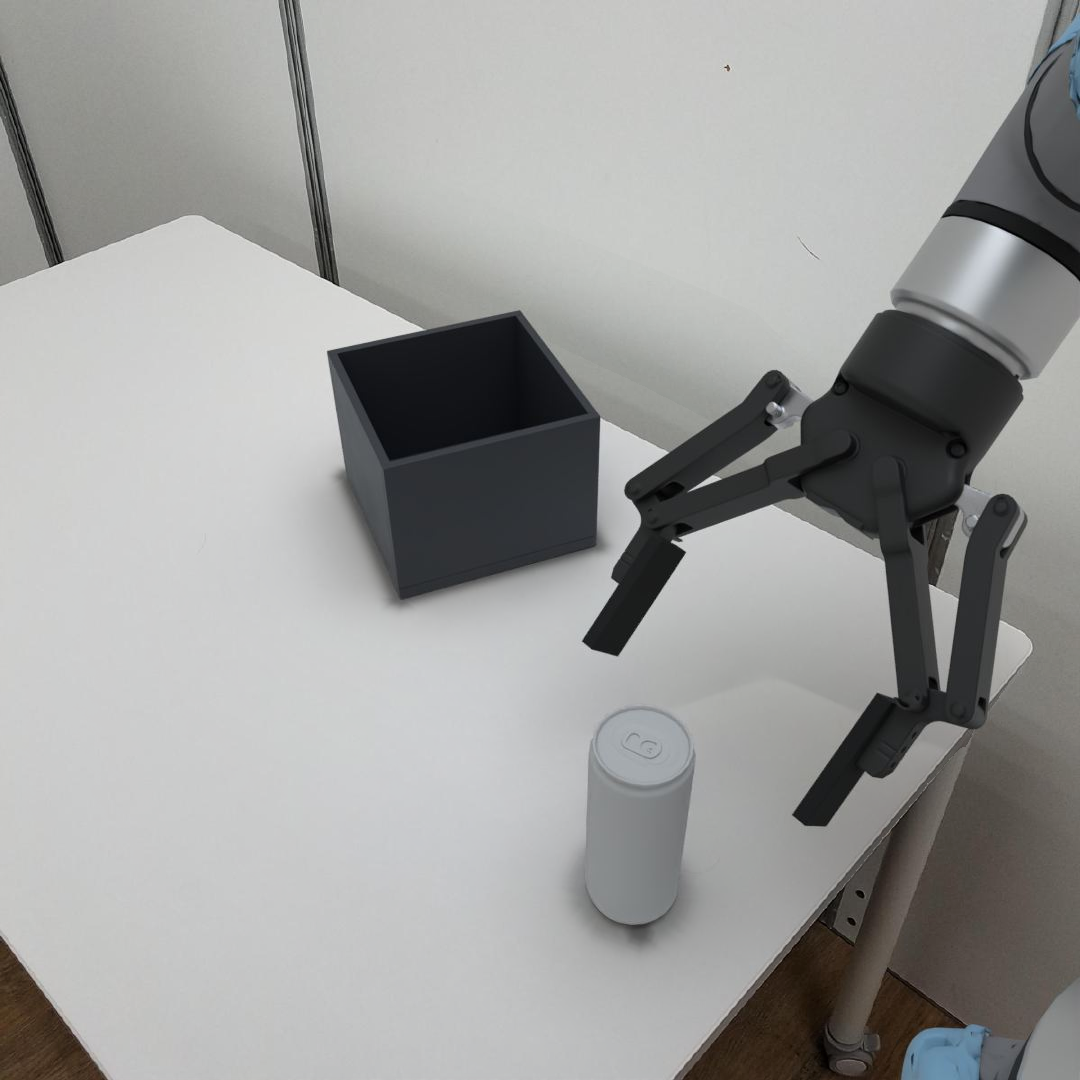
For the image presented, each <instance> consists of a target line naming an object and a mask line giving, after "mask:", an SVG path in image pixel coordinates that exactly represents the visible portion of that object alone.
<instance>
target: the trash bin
mask: <svg viewBox="0 0 1080 1080" xmlns="http://www.w3.org/2000/svg"><path fill="white" fill-rule="evenodd" d="M529 321H530V320H528V319H527V318H526V316H525V315H524V313H523V312H522V310H520V309H518V310H514V311H509V312H504V313H499V314H494V315H490V316H485V317H480V318H476V319H471V320H465V321H462V322H457V323H452V324H448V325H447V324H446V325H443V326H438V327H432V328H429V329H423V330H419V331H414V332H410V333H405V334H399V335H395V336H391V337H385V338H381V339H376V340H371V341H367V342H362V343H356V344H352V345H348V346H343V347H338V348H334V349H329V350H327V351H326V355H327V362H328V368H329V369H328V370H329V374H330V381H331V386H332V393H333V398H334V399H333V400H334V407H335V412H336V419H337V424H338V430H339V437H340V444H341V449H342V450H341V451H342V456H343V464H344V468H345V476H346V478H347V480H348V483H349V485H350V488H351V489H352V492H353V495H354V496H355V499H356V502H357V504H358V506H359V508H360V511H361V513H362V515H363V518H364V520H365V522H366V524H367V527H368V529H369V532H370V533H371V536H372V538H373V541H374V543H375V545H376V547H377V549H378V552H379V554H380V557H381V559H382V561H383V563H384V567H385V568H386V571H387V573H388V576H389V577H390V580H391V582H392V583H393V584H392V585H393V586H394V589H395V591H396V594H397V596H398V598H399V600H405V599H408V598H411V597H415V596H419V595H422V594H427V593H430V592H433V591H437V590H440V589H443V588H447V587H451V586H452V587H453V586H455V585H458V584H462V583H466V582H469V581H473V580H476V579H480V578H483V577H488V576H491V575H495V574H498V573H502V572H505V571H506V572H507V571H509V570H512V569H516V568H519V567H524V566H527V565H530V564H534V563H537V562H541V561H545V560H548V559H552V558H556V557H558V556H563V555H567V554H570V553H573V552H574V553H575V552H577V551H581V550H584V549H588V548H592V547H595V546H597V534H598V507H599V506H598V505H599V503H598V502H599V501H598V500H599V476H600V475H599V473H600V446H601V445H600V444H601V443H600V441H601V415H600V413H599V412H598V411H597V410H596V409H595V407H594V406H593V404H592V403H591V402H590V401H589V400H588V398H587V397H586V395H585V394H584V392H583V391H582V389H581V388H579V386H578V384H577V383H576V382H575V380H574V379H573V378H572V377H571V375H570V374H569V372H568V371H567V369H565V367H564V366H563V364H562V363H561V362H560V361H559V360H558V358H557V357H556V356H555V354H554V353H553V352H552V350H551V349H550V348H549V347H548V345H547V344H546V342H545V341H544V340H543V338H542V337H541V336H540V335H539V333H538V332H537V331H536V329H535V328H534V326H533V325H532V324H531V323H530V322H529Z"/></svg>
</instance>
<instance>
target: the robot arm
mask: <svg viewBox="0 0 1080 1080" xmlns="http://www.w3.org/2000/svg"><path fill="white" fill-rule="evenodd" d="M889 295H890V302H891V305H892V306H893V307H894V308H895V309H885V310H883V311H882V312H877V313H875V315H874V316H873V318H872V320H871V321H870V322H869V324H868V326H867V327H866V329H865V330H864V332H863V333H862V334H861V336H860V338H859V339H858V341H857V342H856V344H855V345H854V346H853V348H852V350H851V351H850V353H849V354H848V356H847V358H846V359H845V361H844V362H843V363H842V365H841V366H840V369H839V370H838V373H837V375H836V377H835V379H834V381H833V384H832V385H831V387H830V388H829V389H828V391H827V392H825V393H824V394H823V395H822V396H820V397H819V398H817V399H816V400H813V399H812V398H811V397H809V396H808V395H807V394H806V393H804V392H802V390H801V389H800V388H799V386H797V385H796V384H795V383H794V382H792V381H791V380H790V379H789V378H788V376H786V375H785V374H784V373H783V372H782V371H780V370H778V369H771V370H769V371H766V372H765V374H764V375H763V376H762V377H761V378H760V379H759V380H758V382H757V383H756V385H755V386H754V387H753V388H752V390H751V391H749V393H748V395H746V397H745V398H744V399H743V400H742V402H741V403H739V404H738V405H737V406H735V407H733V408H732V409H731V410H729V411H727V412H726V413H725V414H723V415H722V416H721V417H719V418H717V419H716V420H714V421H713V422H712V423H710V424H709V425H707V426H706V427H704V428H703V429H702V430H700V431H699V432H697V433H696V434H694V435H693V436H691V437H690V438H689V439H687V440H685V441H684V442H682V443H681V444H680V445H678V446H676V447H675V448H674V449H672V450H670V451H669V452H668V453H666V454H665V455H663V456H662V457H661V458H659V459H657V460H656V461H655V462H653V463H652V464H650V465H649V466H648V467H646V468H645V469H643V470H642V471H640V472H639V473H637V474H636V475H634V476H632V477H631V478H630V479H628V481H626V483H625V485H624V489H623V492H624V496H625V497H626V499H628V500H630V501H631V502H632V504H633V506H634V507H635V508H636V510H637V511H638V514H639V515H640V524H639V527H638V529H637V530H636V532H635V533H634V535H633V537H632V538H631V540H630V541H629V543H628V545H627V546H626V547H625V549H624V551H623V552H622V554H621V555H620V558H618V560H617V562H616V563H615V565H614V566H613V568H612V572H611V575H610V579H611V580H613V581H614V582H615V583H617V586H616V588H615V589H614V591H613V592H612V594H611V595H610V596H609V599H608V600H607V601H606V602H605V604H604V606H603V608H602V609H601V611H600V612H599V613H598V615H597V617H596V619H594V621H593V623H592V624H591V626H590V627H589V629H588V631H587V632H586V633H585V635H584V637H583V638H582V639H581V642H582V643H583V644H584V645H585V646H587V647H588V648H590V649H591V650H592V651H595V652H598V653H603V654H606V655H611V656H614V657H619V656H620V655H621V653H622V652H623V650H624V649H625V647H626V646H627V644H628V642H629V641H630V639H631V638H632V636H633V635H634V633H635V631H636V630H637V628H638V627H639V625H640V624H641V623H642V621H643V619H644V618H645V617H646V615H647V613H648V612H649V610H650V609H651V607H652V606H653V604H654V602H655V601H656V600H657V598H658V596H659V595H660V593H661V592H662V591H663V589H664V588H665V586H666V584H667V583H668V581H669V580H670V578H671V577H672V576H673V574H674V572H675V571H676V569H677V567H678V566H679V565H680V563H681V561H682V560H683V559H684V557H685V555H686V554H687V551H686V550H684V549H683V548H682V547H680V546H679V545H677V544H675V543H673V542H672V541H674V542H676V543H682V542H684V540H683V539H682V537H685V536H688V535H690V534H693V533H696V532H698V531H702V530H705V529H708V528H710V527H713V526H716V525H718V524H721V523H724V522H727V521H730V520H733V519H735V518H739V517H741V516H744V515H747V514H749V513H753V512H755V511H758V510H760V509H763V508H766V507H770V506H772V505H775V504H777V503H779V502H780V503H781V502H783V501H786V500H799V499H802V498H805V499H807V500H808V501H809V502H811V503H813V504H814V505H815V506H817V507H818V508H819V509H821V510H823V511H825V512H827V513H828V514H830V515H831V516H833V517H837V518H841V519H842V520H843V521H844V522H845V523H846V524H847V525H849V526H850V527H852V529H854V530H856V531H858V532H859V534H862V535H864V536H865V537H867V538H869V539H870V540H872V541H874V539H877V540H879V548H880V552H881V553H882V556H883V559H884V565H885V566H884V569H885V578H886V588H887V598H888V607H889V618H890V627H891V637H892V638H891V639H892V648H893V659H894V668H895V677H896V687H897V696H893V697H891V696H888V695H887V694H886V695H885V694H882V693H880V692H876V693H875V695H874V696H873V698H872V699H871V700H870V702H869V703H868V705H867V706H866V708H865V709H864V710H863V712H862V713H861V715H860V716H859V718H858V719H857V720H856V721H855V723H854V725H853V726H852V728H851V729H850V730H849V732H848V733H847V735H846V736H845V738H844V739H843V740H842V741H841V743H840V745H839V746H838V748H837V749H836V750H835V752H834V753H833V755H832V756H831V758H830V759H829V761H828V762H827V763H826V765H825V766H824V768H823V769H822V770H821V772H820V773H819V775H818V776H817V778H816V779H815V781H814V782H813V784H811V786H810V788H809V790H808V791H807V792H806V793H805V795H804V797H803V798H802V800H800V802H799V804H798V805H797V807H795V809H794V811H793V812H792V814H791V816H792V817H793V818H794V819H796V820H797V821H798V822H799V823H801V824H802V825H803V826H804V827H820V828H821V827H823V828H825V827H827V826H828V825H829V824H830V822H831V821H832V819H833V818H834V816H835V815H836V814H837V812H838V811H839V809H840V808H841V806H842V805H843V803H845V801H846V800H847V798H848V796H849V795H850V794H851V792H852V791H853V790H854V788H855V787H856V785H857V784H858V782H859V781H860V780H861V778H862V777H863V776H864V774H865V773H866V774H868V775H869V776H870V777H872V778H874V779H881V780H883V779H885V778H886V777H888V776H889V775H891V774H893V773H894V772H895V770H896V769H897V768H898V766H899V765H900V763H901V761H902V760H903V759H904V758H905V756H906V754H907V753H908V752H909V750H910V749H911V748H912V746H913V744H914V743H915V742H916V740H917V739H918V738H919V736H920V735H921V733H922V732H923V731H924V730H925V728H927V726H929V725H930V724H932V723H936V722H941V723H945V724H946V723H947V724H950V725H954V726H957V727H960V728H964V729H967V730H978V729H981V728H982V727H983V726H984V725H985V724H986V721H987V718H988V713H989V704H990V699H991V698H990V697H991V689H992V682H993V675H994V674H993V673H994V667H995V659H996V652H997V645H998V644H997V643H998V636H999V629H1000V622H1001V614H1002V607H1003V597H1004V592H1005V591H1004V590H1005V582H1006V576H1007V569H1008V561H1009V558H1010V557H1011V555H1012V554H1013V551H1014V550H1015V548H1016V546H1017V544H1018V542H1019V541H1020V539H1021V537H1022V535H1023V533H1024V531H1025V529H1026V528H1027V525H1028V515H1027V514H1026V512H1025V510H1024V509H1023V508H1022V506H1020V504H1019V503H1018V502H1017V501H1016V499H1015V498H1014V497H1012V496H1011V495H1010V494H1006V493H998V494H995V495H994V494H991V493H989V492H986V491H983V490H981V489H978V488H977V487H973V486H971V480H972V476H973V473H974V471H975V469H976V467H977V466H978V465H979V464H980V463H981V461H982V460H983V458H984V457H985V456H986V455H987V453H988V452H989V450H990V449H991V447H992V446H993V445H994V443H995V442H996V440H997V439H998V437H1000V435H1001V433H1002V431H1003V430H1004V429H1005V427H1006V425H1007V424H1008V423H1009V421H1010V420H1011V418H1012V417H1013V415H1014V414H1015V413H1016V411H1017V410H1018V408H1019V407H1020V406H1021V404H1022V402H1024V399H1025V398H1024V394H1023V393H1024V388H1023V386H1022V385H1023V384H1022V383H1021V382H1020V381H1028V380H1034V379H1037V378H1039V376H1040V375H1041V373H1042V372H1043V371H1044V370H1045V368H1046V367H1047V365H1048V364H1049V363H1050V361H1051V359H1052V358H1053V356H1054V355H1055V354H1056V352H1057V351H1058V349H1059V348H1060V347H1061V345H1062V344H1063V342H1064V340H1065V339H1066V338H1067V336H1068V335H1069V334H1070V332H1071V331H1072V329H1073V328H1074V327H1075V325H1076V323H1077V322H1078V321H1079V320H1080V12H1079V13H1078V14H1077V15H1076V16H1075V17H1074V18H1073V20H1072V21H1071V22H1070V24H1069V25H1068V27H1067V28H1066V30H1064V32H1063V33H1062V34H1061V36H1060V38H1059V39H1058V40H1057V41H1056V42H1054V43H1053V45H1051V47H1050V48H1049V50H1048V51H1047V53H1046V55H1045V56H1044V57H1043V59H1041V60H1039V62H1037V64H1036V65H1035V67H1034V70H1033V72H1032V73H1031V75H1030V76H1029V78H1028V79H1027V82H1026V86H1025V88H1024V90H1023V92H1022V93H1021V94H1020V96H1019V97H1018V99H1017V100H1016V102H1015V104H1014V105H1013V106H1012V108H1011V110H1010V111H1009V113H1008V114H1007V116H1005V119H1004V120H1003V122H1002V123H1001V125H1000V127H999V128H998V129H997V131H996V132H995V134H994V135H993V137H992V139H991V140H990V141H989V144H988V145H987V146H986V148H985V150H984V151H983V153H982V155H981V156H980V158H979V159H978V161H977V163H976V164H975V166H974V167H973V169H972V171H971V172H970V174H969V175H968V177H967V178H966V180H965V182H964V183H963V185H962V186H961V188H960V189H959V191H958V192H957V194H956V195H955V197H954V199H953V200H952V202H951V203H950V205H949V206H948V207H947V208H946V209H945V211H944V212H943V213H942V215H941V217H940V218H939V220H938V221H937V223H936V225H935V226H934V227H933V228H932V230H931V232H930V233H929V235H928V236H927V237H926V239H925V240H924V242H923V243H922V245H921V246H920V248H919V249H918V251H917V252H916V253H915V255H914V256H913V258H912V259H911V261H910V262H909V264H908V265H907V266H906V268H905V269H904V271H903V272H902V274H901V275H900V277H899V278H898V279H897V281H896V282H895V284H894V285H893V287H892V288H891V290H890V291H889ZM798 422H800V427H799V428H800V435H799V436H800V437H799V439H800V445H797V446H794V447H792V448H790V449H786V450H784V451H781V452H779V453H776V454H773V455H771V456H769V457H766V459H764V461H763V462H762V463H760V464H758V465H756V466H753V467H751V468H748V469H745V470H743V471H740V472H737V473H734V474H732V475H729V476H727V477H724V478H720V479H718V480H715V481H713V482H711V483H708V484H705V485H702V486H699V485H700V484H702V483H703V482H705V481H706V480H709V478H711V477H712V476H714V475H716V474H717V473H718V472H721V470H723V469H724V468H726V467H727V466H729V465H730V464H732V463H734V462H735V461H737V460H738V459H740V458H741V457H743V456H744V455H746V454H747V453H749V452H750V451H752V450H753V449H755V448H756V447H757V446H759V445H761V444H762V443H764V442H765V441H767V440H768V439H769V438H770V437H771V436H773V435H774V434H775V433H776V432H778V430H785V429H788V428H791V427H793V426H794V424H796V423H798ZM697 486H699V487H697ZM696 487H697V488H696ZM959 510H960V511H961V512H962V516H963V517H962V521H961V530H962V532H963V534H964V535H965V537H967V538H968V541H967V544H966V549H965V553H964V557H963V565H962V571H961V579H960V586H959V593H958V602H957V609H956V615H955V622H954V623H955V624H954V630H953V637H952V643H951V644H952V645H951V651H950V652H951V653H950V658H949V659H950V660H949V667H948V674H947V681H946V689H945V691H943V690H941V689H942V688H941V682H940V674H939V672H940V671H939V663H938V655H937V645H936V636H935V627H934V617H933V610H932V608H933V607H932V601H931V599H932V598H931V590H930V581H929V573H928V572H929V571H928V563H929V549H928V539H927V530H926V524H929V523H932V522H934V521H936V520H940V519H941V518H943V517H945V516H948V515H950V514H954V513H955V512H957V511H959ZM900 1080H1080V976H1079V977H1077V978H1076V979H1075V980H1074V981H1073V982H1071V983H1070V985H1068V986H1067V987H1066V988H1065V989H1064V990H1063V991H1062V992H1061V993H1060V994H1059V995H1057V996H1056V997H1055V999H1054V1000H1053V1001H1052V1003H1051V1004H1050V1005H1049V1007H1048V1008H1047V1010H1046V1011H1045V1012H1044V1013H1043V1015H1042V1016H1041V1017H1040V1019H1039V1020H1038V1021H1037V1023H1036V1025H1035V1026H1034V1028H1033V1029H1032V1031H1031V1032H1030V1034H1029V1036H1028V1037H1027V1039H1025V1040H1024V1039H1015V1038H1009V1037H1001V1036H995V1035H994V1034H993V1032H992V1030H991V1027H987V1026H984V1025H983V1026H982V1025H979V1024H974V1023H971V1024H968V1025H967V1026H966V1027H965V1028H956V1027H955V1028H954V1027H932V1028H931V1027H930V1028H925V1029H924V1030H921V1031H920V1032H919V1033H918V1034H917V1035H915V1036H914V1038H913V1039H912V1040H911V1041H910V1042H909V1045H908V1047H907V1049H906V1052H905V1056H904V1060H903V1064H902V1070H901V1077H900Z"/></svg>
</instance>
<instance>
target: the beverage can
mask: <svg viewBox="0 0 1080 1080" xmlns="http://www.w3.org/2000/svg"><path fill="white" fill-rule="evenodd" d="M592 734H593V735H592V737H591V739H590V743H589V749H588V761H587V792H586V795H587V796H586V820H585V823H586V824H585V854H584V855H585V858H584V859H585V863H584V882H585V887H586V891H587V893H588V896H589V898H590V900H591V901H592V903H593V904H594V905H595V907H596V908H597V910H598V911H600V913H602V914H603V915H604V916H605V917H606V918H608V919H610V920H611V921H614V922H617V923H619V924H625V925H632V926H634V925H635V926H636V925H644V924H648V923H651V922H654V921H656V920H657V919H659V918H660V917H661V918H662V916H664V915H665V914H666V913H667V912H668V911H669V910H670V909H671V907H672V906H673V905H674V903H675V900H676V898H677V896H678V891H679V883H680V878H681V877H680V875H681V870H682V861H683V855H684V847H685V841H686V833H687V831H686V830H687V825H688V817H689V810H690V804H691V796H692V789H693V782H694V775H695V773H694V772H695V767H696V751H695V742H694V740H693V735H692V733H691V731H690V729H689V728H688V726H687V724H686V723H685V722H684V721H682V720H681V718H680V717H679V716H677V715H676V714H675V713H673V712H671V711H669V710H667V709H665V708H662V707H659V706H657V705H653V704H645V703H644V704H643V703H636V704H628V705H624V706H621V707H618V708H617V707H616V708H615V709H614V710H612V711H610V712H609V713H607V714H606V715H604V717H603V718H602V719H601V720H599V722H598V724H597V725H596V727H595V729H594V730H593V733H592Z"/></svg>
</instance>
